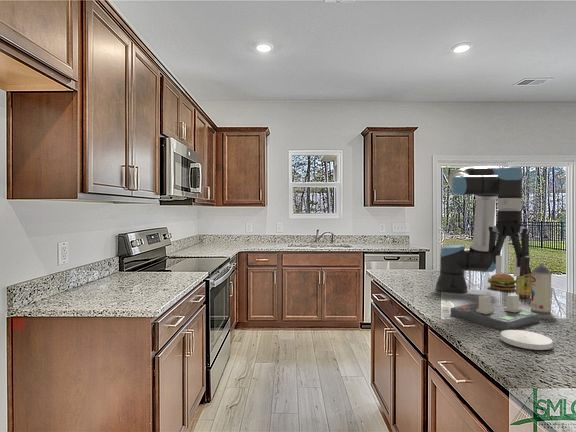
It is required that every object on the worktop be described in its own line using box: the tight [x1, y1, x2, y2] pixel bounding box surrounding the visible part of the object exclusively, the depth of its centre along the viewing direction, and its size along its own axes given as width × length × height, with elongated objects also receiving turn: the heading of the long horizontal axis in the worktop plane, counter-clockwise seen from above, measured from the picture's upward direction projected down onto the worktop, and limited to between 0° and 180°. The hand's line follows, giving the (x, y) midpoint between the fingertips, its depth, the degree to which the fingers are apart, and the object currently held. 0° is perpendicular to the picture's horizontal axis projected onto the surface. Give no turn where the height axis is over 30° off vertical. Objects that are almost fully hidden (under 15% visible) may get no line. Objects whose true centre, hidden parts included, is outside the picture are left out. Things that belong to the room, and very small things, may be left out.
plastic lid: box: [499, 329, 554, 351], centre depth 121 cm, size 14×14×2 cm
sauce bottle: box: [515, 256, 532, 299], centre depth 186 cm, size 6×6×20 cm
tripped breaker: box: [476, 294, 494, 314], centre depth 145 cm, size 4×5×6 cm
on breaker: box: [504, 293, 522, 313], centre depth 148 cm, size 4×5×6 cm
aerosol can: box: [530, 262, 552, 315], centre depth 160 cm, size 7×7×20 cm
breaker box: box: [450, 301, 540, 331], centre depth 149 cm, size 22×22×3 cm
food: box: [487, 273, 517, 291], centre depth 207 cm, size 14×14×8 cm
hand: (507, 274), depth 138 cm, fingers open, 6 cm apart
